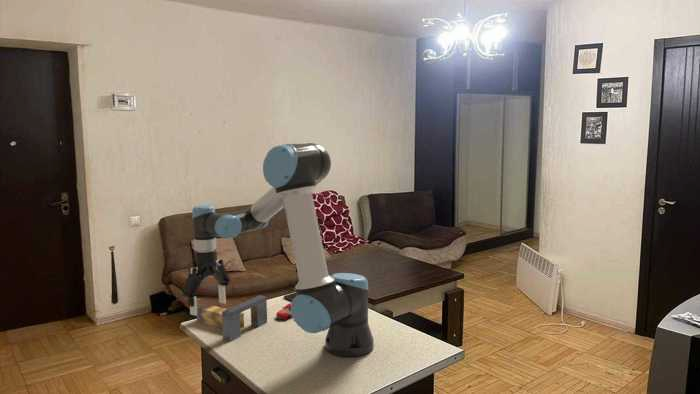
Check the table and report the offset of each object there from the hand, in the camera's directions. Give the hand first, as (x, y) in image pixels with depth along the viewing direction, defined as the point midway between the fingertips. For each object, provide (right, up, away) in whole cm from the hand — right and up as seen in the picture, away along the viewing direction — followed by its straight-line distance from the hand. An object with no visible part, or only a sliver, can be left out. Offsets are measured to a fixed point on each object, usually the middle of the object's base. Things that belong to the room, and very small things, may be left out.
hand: (208, 308), depth 183 cm
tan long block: (+5, -5, -2) cm, 7 cm away
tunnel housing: (+15, -6, -8) cm, 18 cm away
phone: (+31, -2, +22) cm, 38 cm away
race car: (+28, -4, +7) cm, 29 cm away
